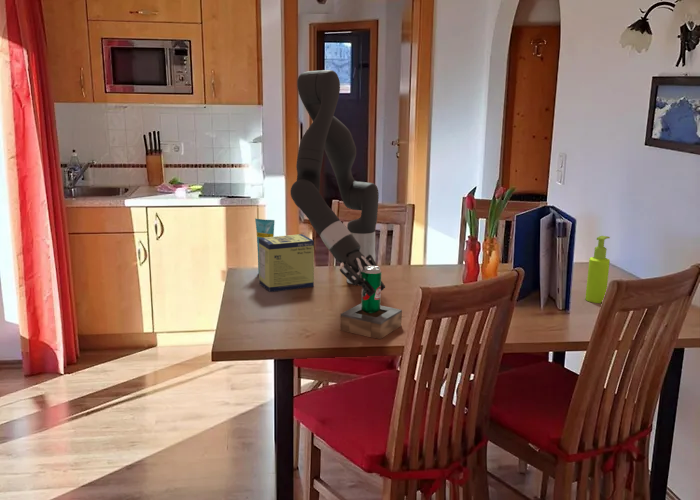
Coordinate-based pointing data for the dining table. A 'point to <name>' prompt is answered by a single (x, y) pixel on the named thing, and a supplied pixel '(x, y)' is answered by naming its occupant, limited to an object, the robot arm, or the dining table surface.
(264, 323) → the dining table surface
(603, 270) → the soap dispenser
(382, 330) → the square holder
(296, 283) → the protein box
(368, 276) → the soda can
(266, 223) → the tube
